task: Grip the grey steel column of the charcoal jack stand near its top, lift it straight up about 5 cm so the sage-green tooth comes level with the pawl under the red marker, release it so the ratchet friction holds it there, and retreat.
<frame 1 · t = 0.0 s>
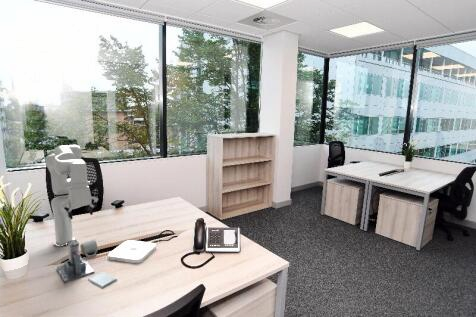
hand: (81, 216, 147), 31 cm above the table, fingers open, 9 cm apart
computer: (133, 253, 173), on the table
hard drive: (102, 281, 144), on the table
stand: (75, 270, 152), on the table
column: (74, 255, 150), point 9 cm above the table, slide at 0.0 cm
ceramic mug: (90, 254, 170), on the table
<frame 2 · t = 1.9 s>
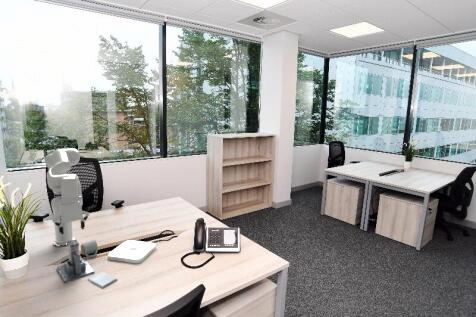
hand: (72, 231, 148), 23 cm above the table, fingers open, 9 cm apart
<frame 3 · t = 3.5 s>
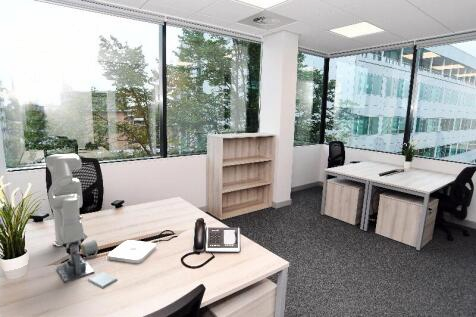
hand: (73, 252, 150), 11 cm above the table, fingers closed on column, 4 cm apart
column: (74, 255, 150), point 9 cm above the table, slide at 0.0 cm, touching gripper
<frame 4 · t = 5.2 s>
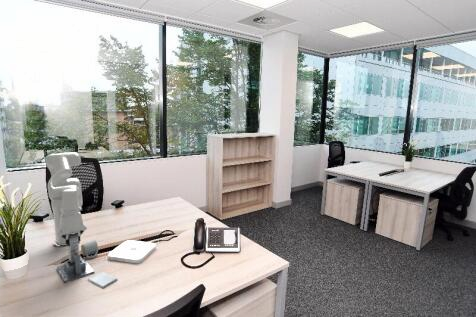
hand: (73, 243, 149), 16 cm above the table, fingers closed on column, 4 cm apart
column: (73, 247, 149), point 14 cm above the table, slide at 4.9 cm, touching gripper
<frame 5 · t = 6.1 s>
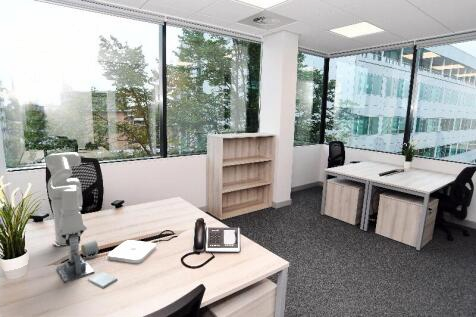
hand: (73, 243, 149), 16 cm above the table, fingers closed on column, 4 cm apart
column: (73, 247, 149), point 14 cm above the table, slide at 5.0 cm, touching gripper
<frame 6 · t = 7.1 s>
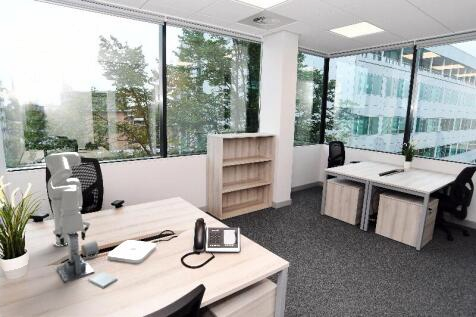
hand: (73, 241, 149), 17 cm above the table, fingers open, 9 cm apart
column: (73, 247, 149), point 14 cm above the table, slide at 5.0 cm
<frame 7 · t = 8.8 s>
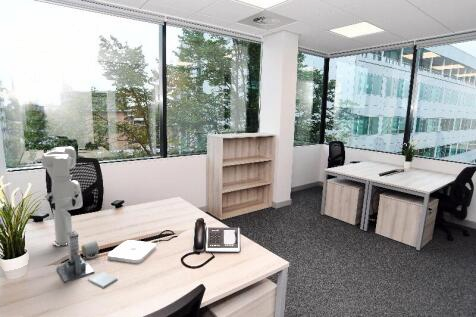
hand: (64, 207, 158), 32 cm above the table, fingers open, 9 cm apart
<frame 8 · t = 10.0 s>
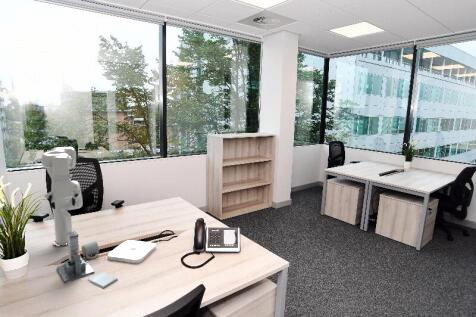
hand: (63, 206, 158), 32 cm above the table, fingers open, 9 cm apart
at the end: column slide at 5.0 cm; the gripper is holding nothing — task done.
